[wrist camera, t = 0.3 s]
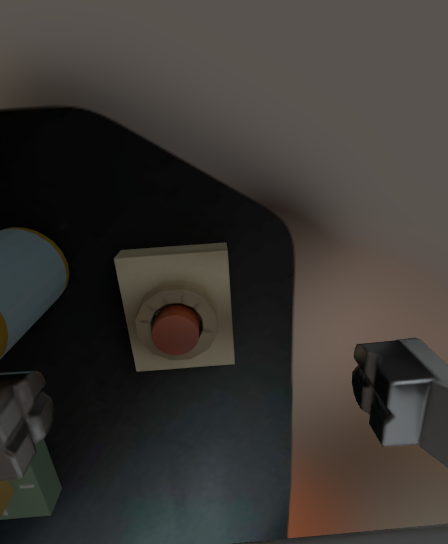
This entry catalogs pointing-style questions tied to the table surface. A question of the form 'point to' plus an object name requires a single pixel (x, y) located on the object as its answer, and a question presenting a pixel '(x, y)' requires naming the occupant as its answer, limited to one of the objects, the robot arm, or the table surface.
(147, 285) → the button box
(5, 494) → the knob
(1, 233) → the bottle
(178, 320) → the button
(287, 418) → the table surface
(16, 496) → the console
